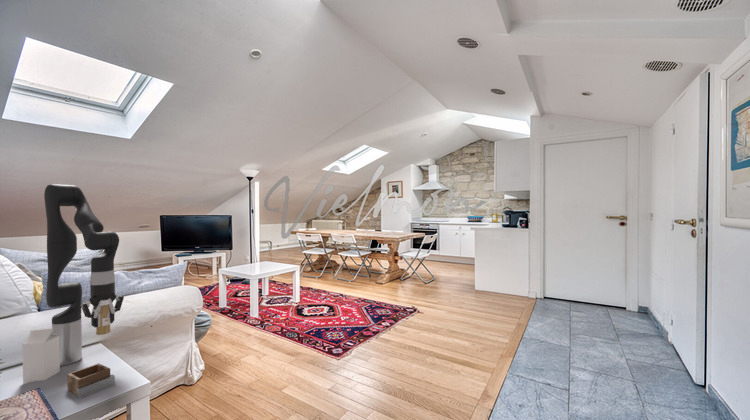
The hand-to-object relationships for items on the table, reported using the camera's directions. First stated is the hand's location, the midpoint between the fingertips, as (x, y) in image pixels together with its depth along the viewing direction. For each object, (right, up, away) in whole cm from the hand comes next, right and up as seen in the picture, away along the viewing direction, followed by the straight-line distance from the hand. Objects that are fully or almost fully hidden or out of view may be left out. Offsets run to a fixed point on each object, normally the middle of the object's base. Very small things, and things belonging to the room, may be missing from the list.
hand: (103, 324), depth 131 cm
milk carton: (-19, -19, -6) cm, 27 cm away
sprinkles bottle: (0, -4, 0) cm, 4 cm away
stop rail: (+11, -17, -17) cm, 27 cm away
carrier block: (+7, -17, -14) cm, 23 cm away
